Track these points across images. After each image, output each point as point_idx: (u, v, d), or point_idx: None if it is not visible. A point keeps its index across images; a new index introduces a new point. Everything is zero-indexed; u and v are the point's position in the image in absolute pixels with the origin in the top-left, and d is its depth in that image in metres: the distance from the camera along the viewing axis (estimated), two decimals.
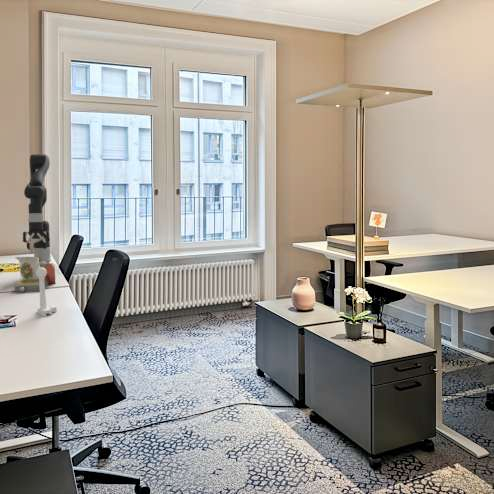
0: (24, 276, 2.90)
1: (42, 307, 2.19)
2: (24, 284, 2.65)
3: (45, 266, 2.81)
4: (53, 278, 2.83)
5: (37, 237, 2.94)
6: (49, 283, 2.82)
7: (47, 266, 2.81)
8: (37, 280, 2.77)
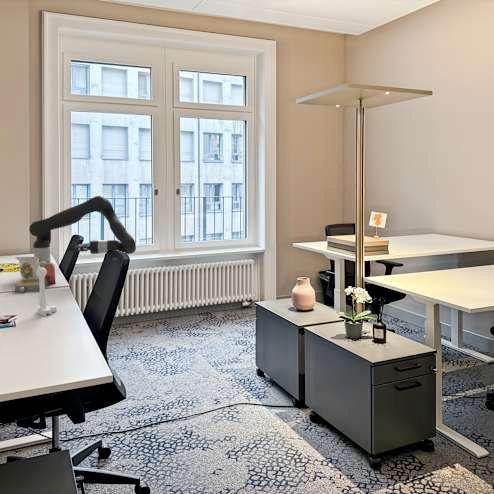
0: (24, 276, 2.90)
1: (42, 307, 2.19)
2: (24, 284, 2.65)
3: (45, 266, 2.81)
4: (53, 278, 2.83)
5: None
6: (49, 283, 2.82)
7: (47, 266, 2.81)
8: (37, 280, 2.77)
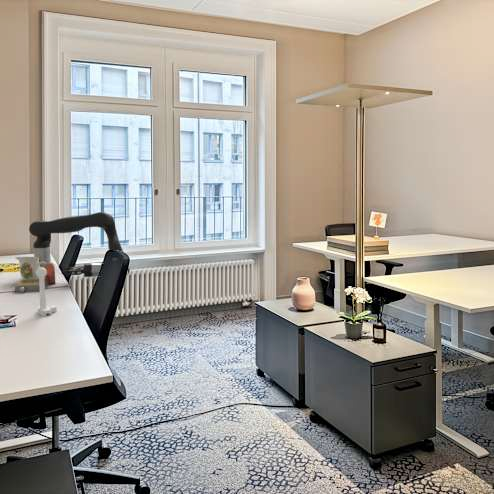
0: (24, 276, 2.90)
1: (42, 307, 2.19)
2: (24, 284, 2.65)
3: (45, 266, 2.81)
4: (53, 278, 2.83)
5: None
6: (49, 283, 2.82)
7: (47, 266, 2.81)
8: (37, 280, 2.77)
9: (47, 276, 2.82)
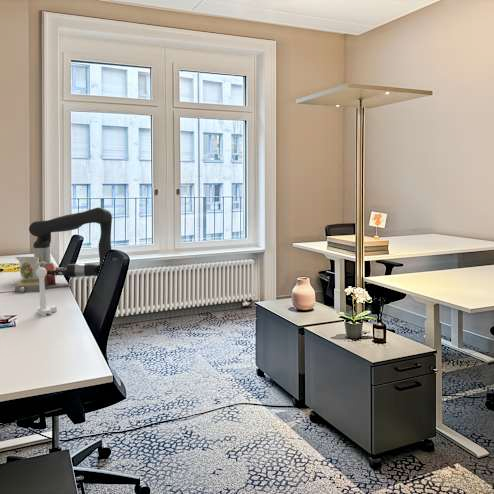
0: (24, 276, 2.90)
1: (42, 307, 2.19)
2: (24, 284, 2.65)
3: (45, 266, 2.81)
4: (53, 278, 2.83)
5: None
6: (49, 283, 2.82)
7: (47, 266, 2.81)
8: (37, 280, 2.77)
9: (47, 276, 2.82)
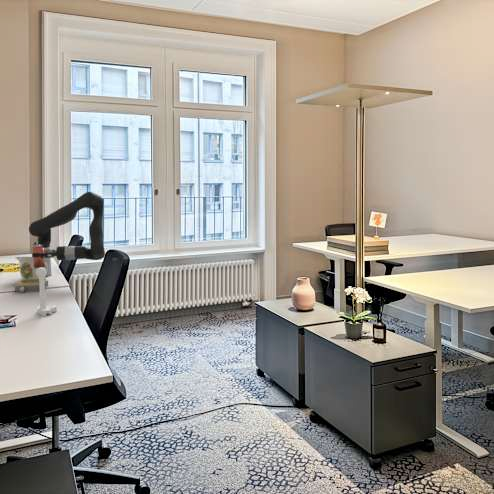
0: (24, 276, 2.90)
1: (42, 307, 2.19)
2: (24, 284, 2.65)
3: (34, 248, 2.72)
4: (42, 261, 2.74)
5: None
6: (38, 266, 2.73)
7: (36, 248, 2.71)
8: (37, 280, 2.77)
9: (36, 259, 2.72)
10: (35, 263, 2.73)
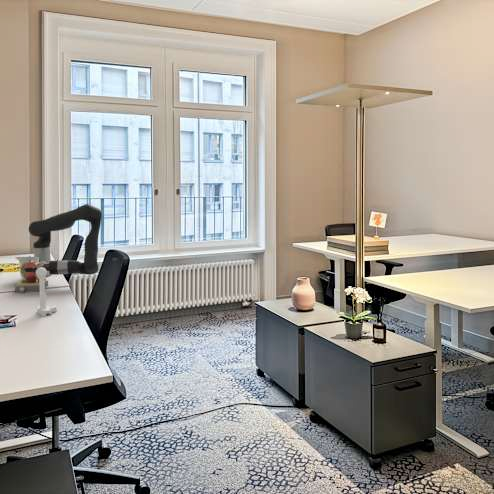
0: (24, 276, 2.90)
1: (42, 307, 2.19)
2: (24, 284, 2.65)
3: (26, 264, 2.68)
4: (35, 277, 2.70)
5: None
6: (31, 282, 2.69)
7: (28, 264, 2.68)
8: None
9: (28, 275, 2.68)
10: (27, 279, 2.69)
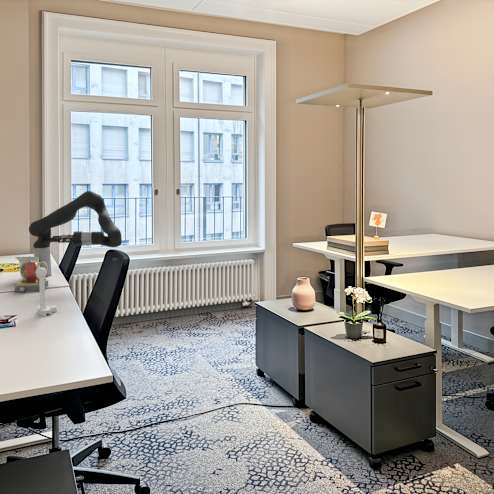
0: (24, 276, 2.90)
1: (42, 307, 2.19)
2: (24, 284, 2.65)
3: (26, 264, 2.68)
4: (35, 277, 2.70)
5: None
6: (31, 282, 2.69)
7: (28, 265, 2.67)
8: None
9: (28, 275, 2.68)
10: (27, 279, 2.69)
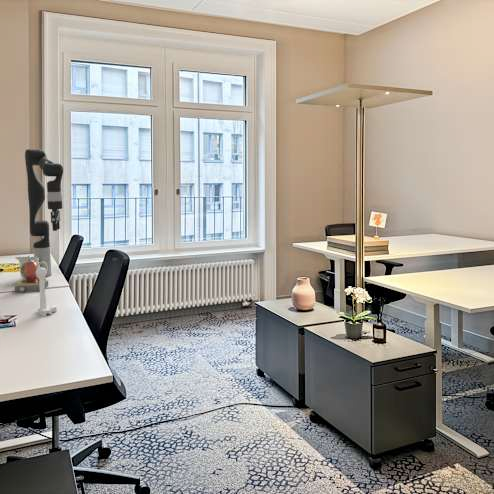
0: (24, 276, 2.90)
1: (42, 307, 2.19)
2: (24, 284, 2.65)
3: (26, 264, 2.68)
4: (34, 277, 2.70)
5: (57, 217, 2.81)
6: (30, 282, 2.69)
7: (28, 264, 2.68)
8: None
9: (28, 275, 2.68)
10: (27, 279, 2.69)
